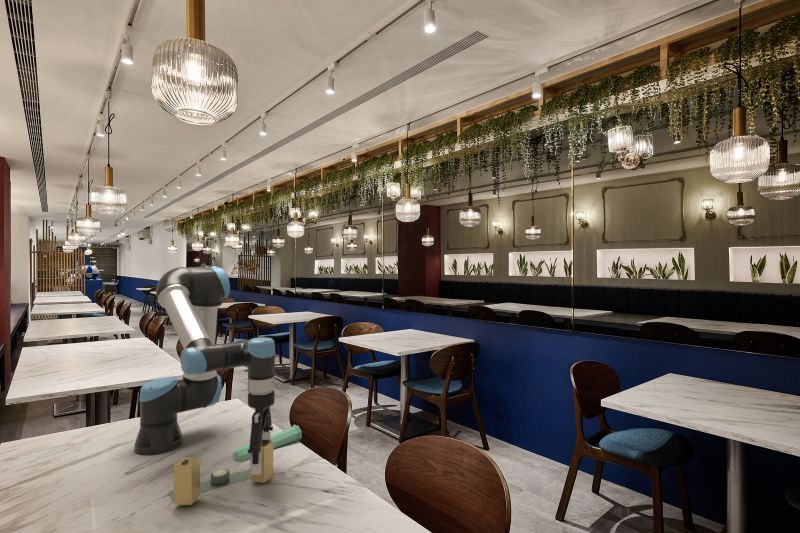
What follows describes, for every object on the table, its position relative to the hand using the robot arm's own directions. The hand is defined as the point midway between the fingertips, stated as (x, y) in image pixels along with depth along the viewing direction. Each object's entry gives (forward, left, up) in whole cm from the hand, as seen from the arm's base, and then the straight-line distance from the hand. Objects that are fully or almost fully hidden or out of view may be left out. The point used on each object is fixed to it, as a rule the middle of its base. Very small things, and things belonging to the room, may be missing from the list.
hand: (261, 463), depth 130 cm
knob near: (+1, -20, -5) cm, 21 cm away
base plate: (-3, -10, -6) cm, 12 cm away
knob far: (+1, 0, -5) cm, 5 cm away
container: (-21, +10, -6) cm, 24 cm away
